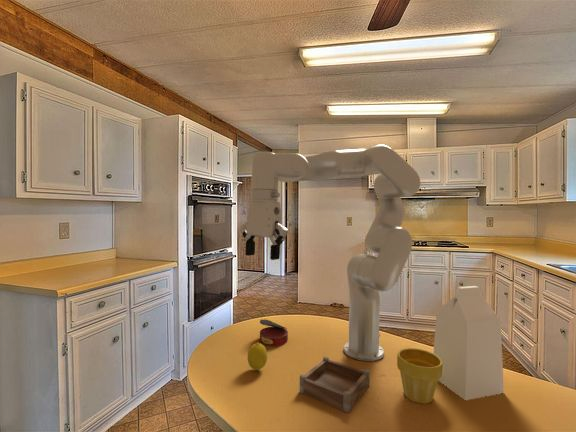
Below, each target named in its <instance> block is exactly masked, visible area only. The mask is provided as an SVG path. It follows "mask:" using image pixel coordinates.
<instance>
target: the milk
mask: <svg viewBox="0 0 576 432" xmlns="http://www.w3.org/2000/svg"><path fill="white" fill-rule="evenodd" d="M501 324H502V322H501V320H500V317H499V315H498V314H497V313H496V312H495V311H494V309H493V308H492V307H491V305H490V304H489V303H488V302H487V300H485V298H484V297H483V294H482V291H481V287H480V286H477V285H468V286H457V288H456V290H455V292H454V295H453V297H451V299H449V300H448V301H447V302H445V303H444V304H443V305H441V306H439V308H438V309H437V310H436V316H435V329H434V342H433V353H434V354H435V355H437V356H438V357H439V358H440V359H441V360H442V362H443V368H442V376H441V378H440V379H438V382H439V383H440V384H442V385H443V384H444V385H443V386H445V387H446V386H447V387H446V388H447V389H449V390H450V391H451V392H453V393H454V394H456V395H457V396H458V395H459V396H458V397H460V398H461V399H463V400H464V401H465V400H466V401H470V399H471V400H475V399H476V400H477V399H480V398H481V397H482V398H486V397H485V396H487V397H491V395H492V396H497V395H501V393H503V394H504V391H505V390H504V367H503V366H504V365H503V347H502V346H503V343H502V341H503V340H502V325H501ZM496 394H497V395H496Z"/></svg>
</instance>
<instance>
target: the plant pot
mask: <svg viewBox="0 0 576 432" xmlns="http://www.w3.org/2000/svg"><path fill="white" fill-rule="evenodd" d="M396 363H397V364H396V365H397V369H398V370H399V372H400V377H401V384H402V390H403V394H404V395H405V397H406V398H407V399H408V400H410V401H413V402H414V403H418V404H429V403H431V402H432V401H433V400H434V397H435V392H436V388H437V385H438V382H439V381H438V379H440V378H441V376H442V368H443V362H442V360H441V359H440V358H439V357H438V356H437V355H435V354H434V352H432V351H429V350H426V349H421V348H416V347H407V348H406V347H405V348H402V349H400V350H399V351H398V352H397V357H396Z"/></svg>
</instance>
